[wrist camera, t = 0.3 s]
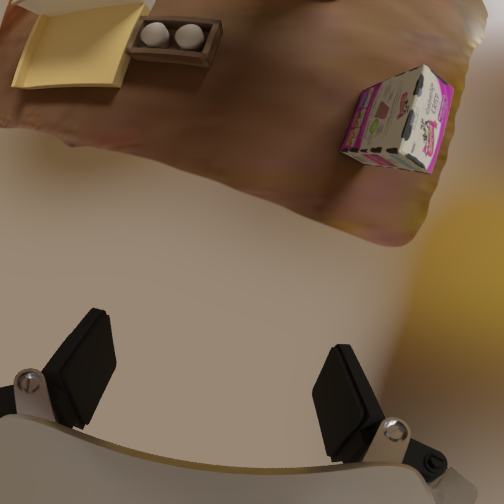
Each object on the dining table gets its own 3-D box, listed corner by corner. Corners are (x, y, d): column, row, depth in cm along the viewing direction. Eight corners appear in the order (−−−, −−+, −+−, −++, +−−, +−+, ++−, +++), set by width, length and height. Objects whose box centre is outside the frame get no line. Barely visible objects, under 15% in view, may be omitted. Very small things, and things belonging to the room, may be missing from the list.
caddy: (149, 26, 28) (139, 14, 24) (222, 32, 29) (220, 19, 25) (135, 60, 30) (123, 51, 26) (210, 68, 31) (205, 57, 27)
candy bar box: (366, 166, 37) (432, 177, 21) (338, 151, 36) (396, 153, 21) (388, 104, 33) (456, 89, 18) (362, 88, 33) (423, 61, 17)
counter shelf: (59, 11, 23) (18, -11, 10) (158, -2, 26) (130, -46, 13) (28, 89, 29) (-23, 83, 16) (122, 87, 31) (72, 65, 18)
